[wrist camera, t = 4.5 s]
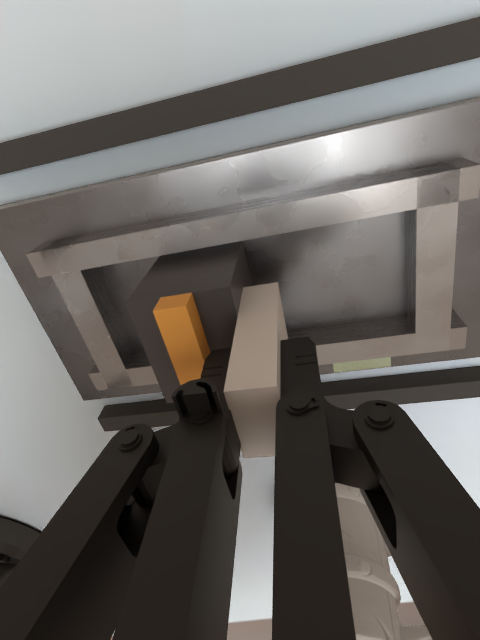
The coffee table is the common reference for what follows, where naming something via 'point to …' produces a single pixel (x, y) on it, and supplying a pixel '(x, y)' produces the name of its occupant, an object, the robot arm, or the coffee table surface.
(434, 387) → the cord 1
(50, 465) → the coffee table surface
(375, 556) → the mug
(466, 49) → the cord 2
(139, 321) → the breaker toggle
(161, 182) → the breaker panel
